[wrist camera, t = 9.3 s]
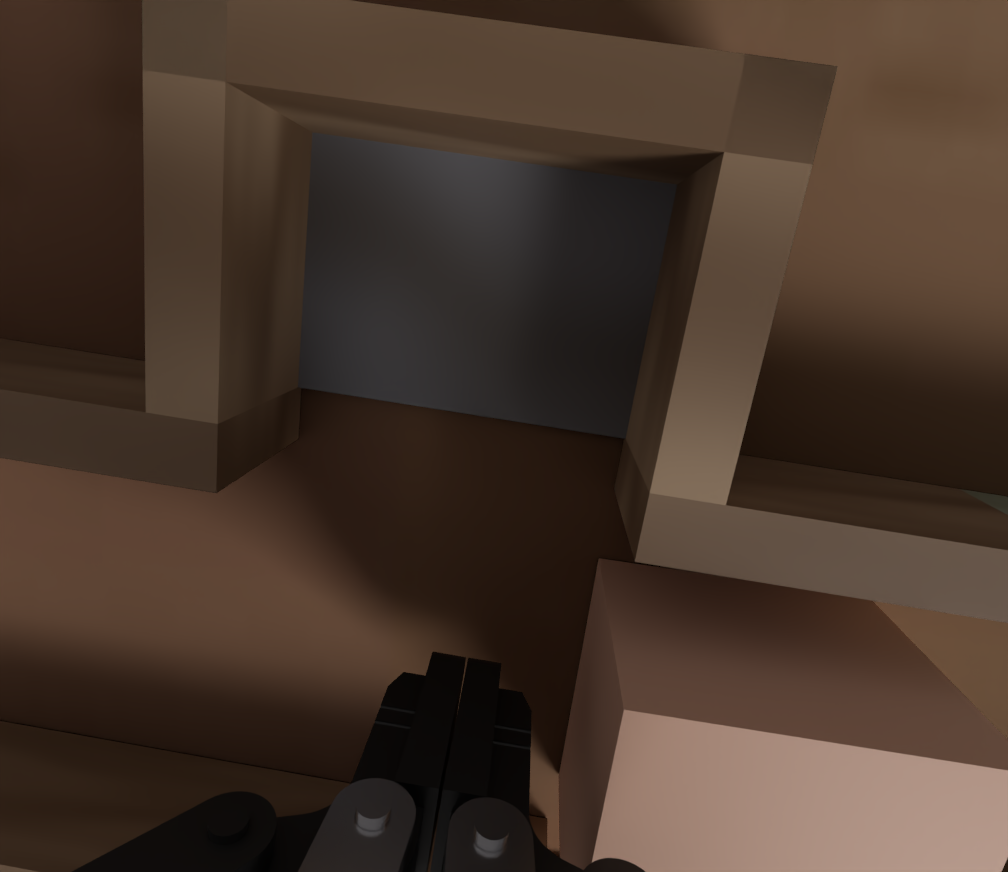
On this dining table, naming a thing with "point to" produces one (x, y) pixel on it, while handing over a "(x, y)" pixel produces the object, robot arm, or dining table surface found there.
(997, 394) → the dining table surface
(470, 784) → the robot arm
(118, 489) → the dining table surface
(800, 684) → the block
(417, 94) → the box
